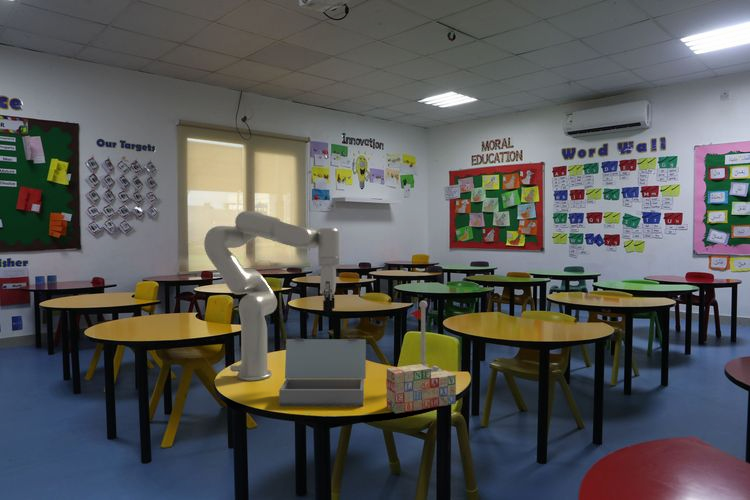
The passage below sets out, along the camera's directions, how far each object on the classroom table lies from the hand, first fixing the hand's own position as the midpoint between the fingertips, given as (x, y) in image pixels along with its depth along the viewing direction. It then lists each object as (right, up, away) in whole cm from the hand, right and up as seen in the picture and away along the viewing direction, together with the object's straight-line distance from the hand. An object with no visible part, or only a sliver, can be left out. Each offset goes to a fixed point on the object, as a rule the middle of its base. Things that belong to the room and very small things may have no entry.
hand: (329, 309), depth 172 cm
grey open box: (0, -27, -19) cm, 33 cm away
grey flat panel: (0, -15, -13) cm, 19 cm away
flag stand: (+34, -27, -1) cm, 43 cm away
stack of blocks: (+31, -27, -24) cm, 48 cm away
